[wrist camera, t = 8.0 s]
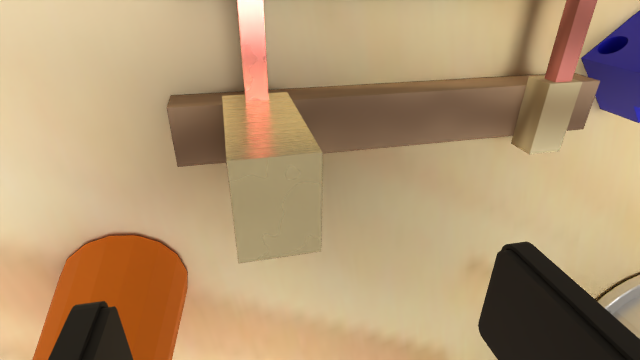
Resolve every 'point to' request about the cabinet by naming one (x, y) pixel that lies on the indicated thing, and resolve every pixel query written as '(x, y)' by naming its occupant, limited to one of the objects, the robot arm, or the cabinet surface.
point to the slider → (269, 158)
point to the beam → (420, 107)
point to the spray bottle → (123, 293)
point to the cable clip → (618, 70)
